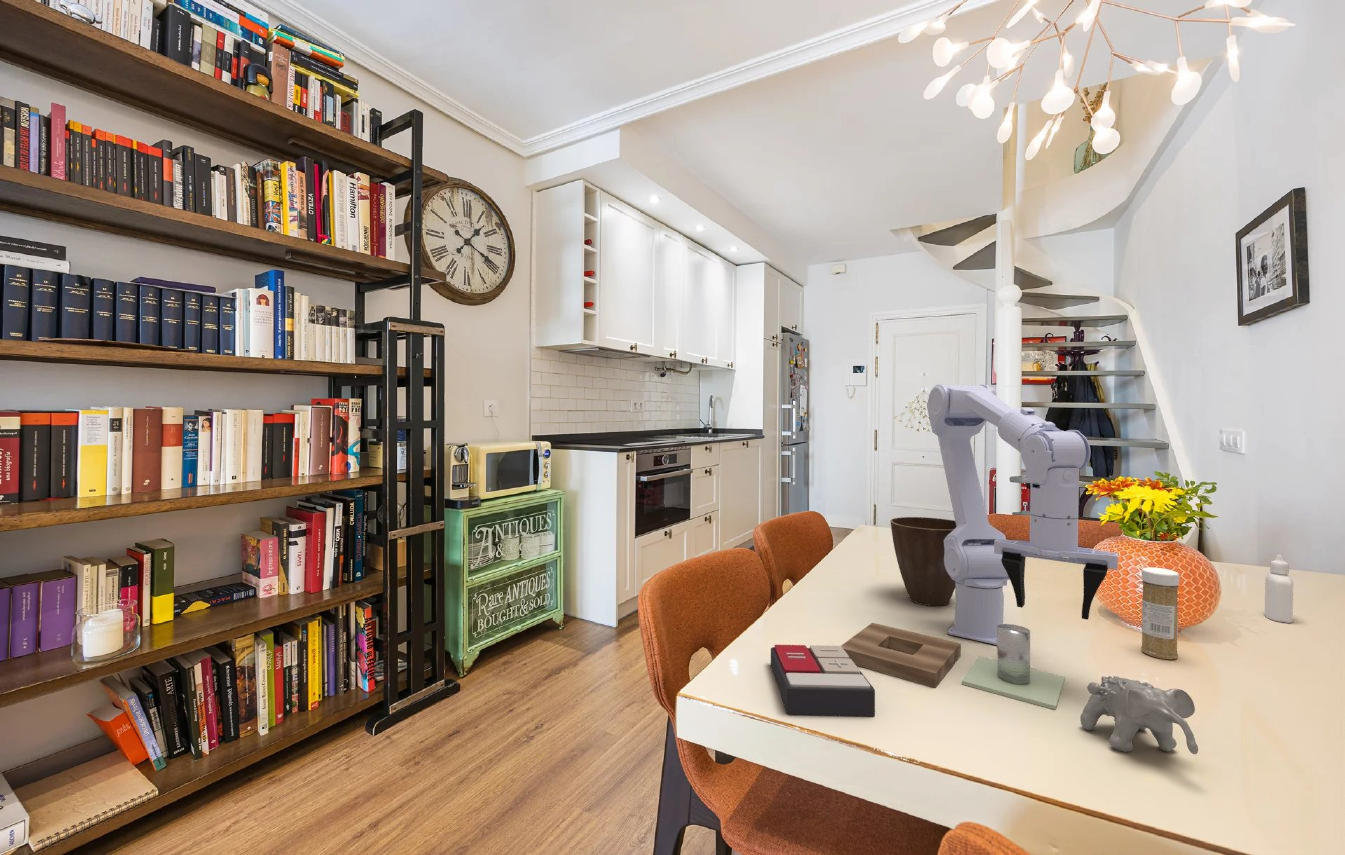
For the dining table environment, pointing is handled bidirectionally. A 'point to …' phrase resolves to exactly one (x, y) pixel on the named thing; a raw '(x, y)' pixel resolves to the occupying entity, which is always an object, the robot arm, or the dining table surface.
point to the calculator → (821, 682)
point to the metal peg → (1013, 654)
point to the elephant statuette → (1139, 712)
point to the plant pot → (923, 558)
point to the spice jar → (1160, 612)
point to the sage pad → (1038, 691)
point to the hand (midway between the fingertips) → (1052, 611)
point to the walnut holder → (921, 667)
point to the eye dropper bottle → (1279, 592)
